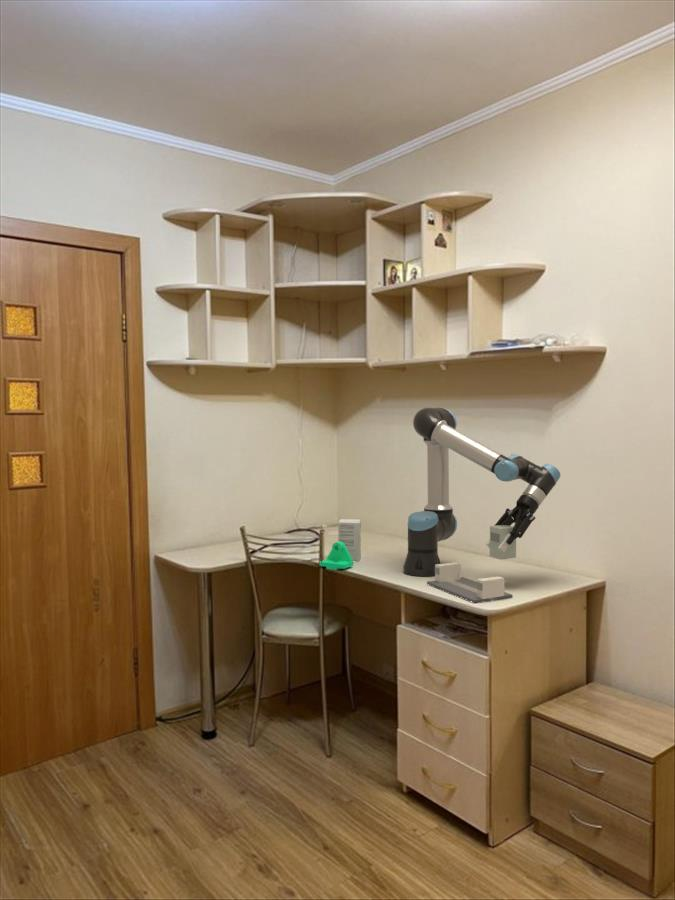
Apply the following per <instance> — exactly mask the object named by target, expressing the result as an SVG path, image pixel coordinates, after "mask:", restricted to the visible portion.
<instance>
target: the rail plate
mask: <svg viewBox="0 0 675 900" xmlns="http://www.w3.org/2000/svg"><path fill="white" fill-rule="evenodd" d="M434 578H435V579H434V580H430V581H427V582H426V585H427V584H429V585H428V586H430V585H431V586H430V587H432V586H434V587H433V588H435V587H436V589H437V588H439V589H438V590H440V589H441V590H440V591H442V590H444V591H443V592H445V591H446V592H445V593H447V592H449V593H448V594H450V593H452V594H454V595H453V596H455V595H456V596H455V597H457V596H459V597H458V598H460V597H462V598H464V599H463V600H465V599H467V600H469V601H468V602H470V601H472V602H474V603H473V604H476V603H475V602H480V603H483V602H482V601H487V602H492V601H491V600H494V601H498V600H506V599H507V600H508V599H512V598H513V596H514V594H512V593H509V592H506V591H505V583H506V582H505V580H506V579H505V577H501V576H493V577H491V576H490V577H485V578H484V577H483V578H477V580H476V581H475V580H472V579H469V578H467V577H464V576H462V577H461V563H459V562H447V563H441V564H436V565H435V576H434ZM452 594H451V595H452ZM462 598H461V599H462ZM467 600H466V601H467ZM472 602H471V603H472Z"/></svg>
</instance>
